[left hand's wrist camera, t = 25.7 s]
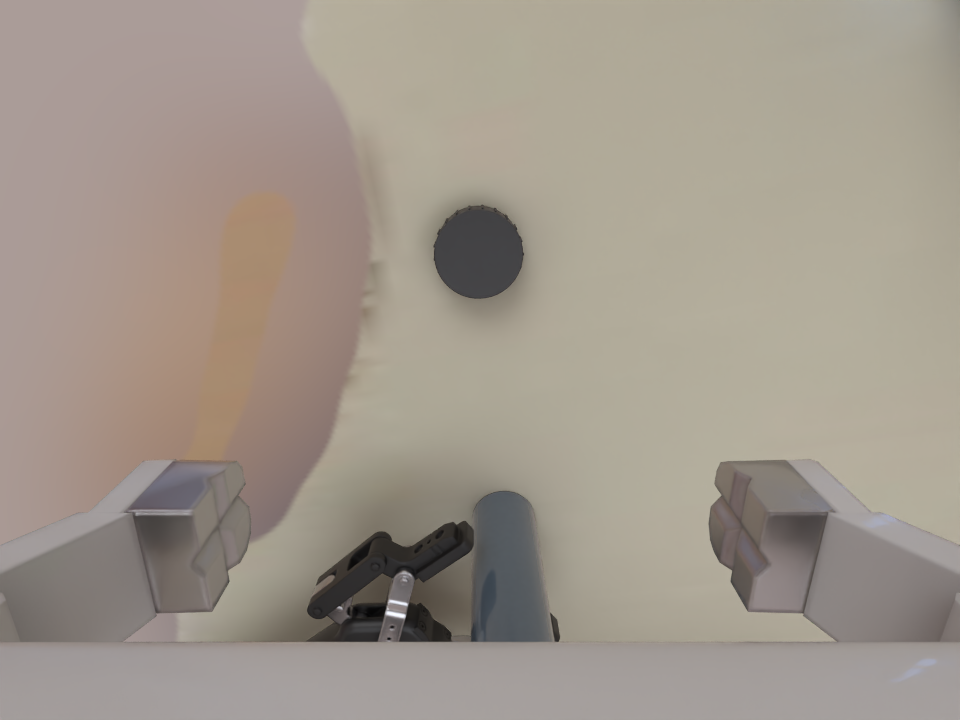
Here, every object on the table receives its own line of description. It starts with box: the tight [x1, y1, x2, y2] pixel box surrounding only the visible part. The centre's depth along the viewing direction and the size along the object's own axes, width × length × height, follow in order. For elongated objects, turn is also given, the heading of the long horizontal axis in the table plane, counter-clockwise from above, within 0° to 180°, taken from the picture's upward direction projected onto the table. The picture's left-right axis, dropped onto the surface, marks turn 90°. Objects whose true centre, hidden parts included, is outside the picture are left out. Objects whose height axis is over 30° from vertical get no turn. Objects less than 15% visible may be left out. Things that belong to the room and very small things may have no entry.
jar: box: [471, 491, 554, 642], centre depth 34 cm, size 4×4×17 cm
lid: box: [434, 205, 524, 299], centre depth 34 cm, size 5×5×2 cm
